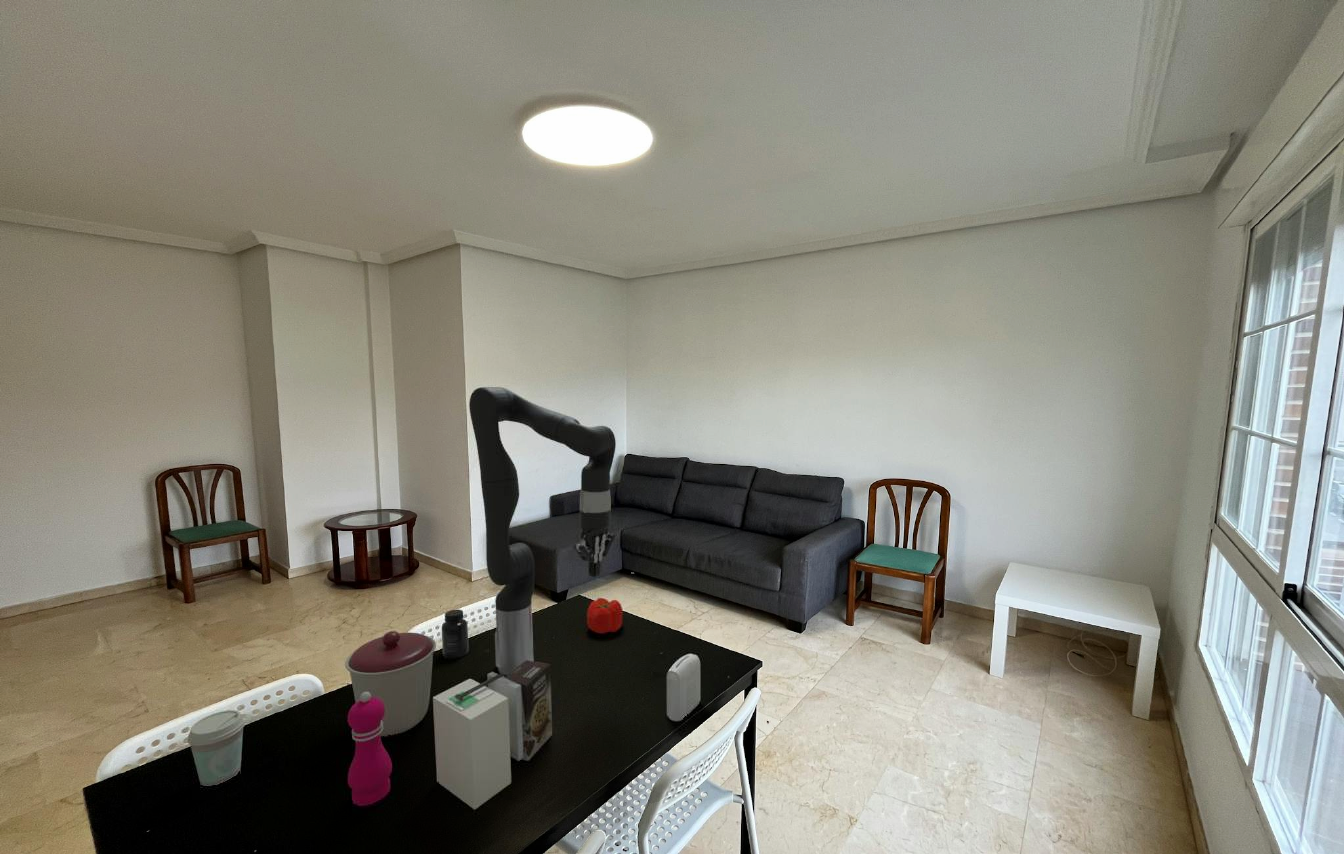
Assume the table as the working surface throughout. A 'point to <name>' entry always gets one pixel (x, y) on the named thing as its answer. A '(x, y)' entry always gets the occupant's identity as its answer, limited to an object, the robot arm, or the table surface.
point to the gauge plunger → (514, 708)
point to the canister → (395, 677)
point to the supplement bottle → (455, 635)
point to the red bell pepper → (604, 616)
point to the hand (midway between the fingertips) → (594, 575)
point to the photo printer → (683, 687)
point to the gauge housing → (472, 742)
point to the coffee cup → (217, 746)
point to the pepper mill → (368, 752)
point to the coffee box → (534, 704)
